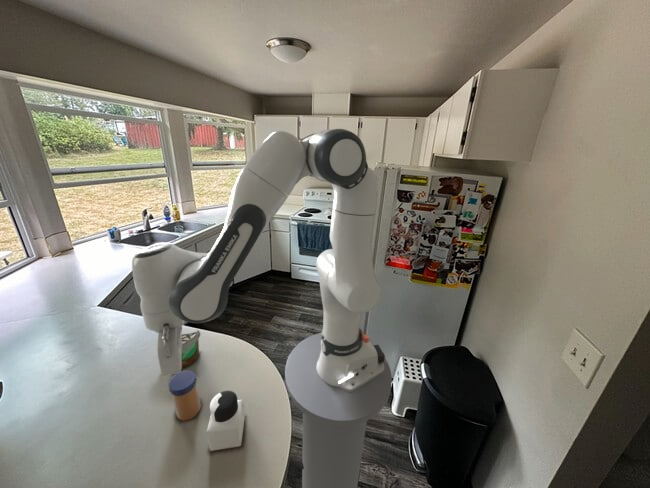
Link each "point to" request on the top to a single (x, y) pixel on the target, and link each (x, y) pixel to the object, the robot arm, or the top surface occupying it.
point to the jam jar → (187, 404)
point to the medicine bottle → (225, 421)
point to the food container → (190, 348)
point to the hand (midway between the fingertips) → (176, 358)
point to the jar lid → (182, 383)
